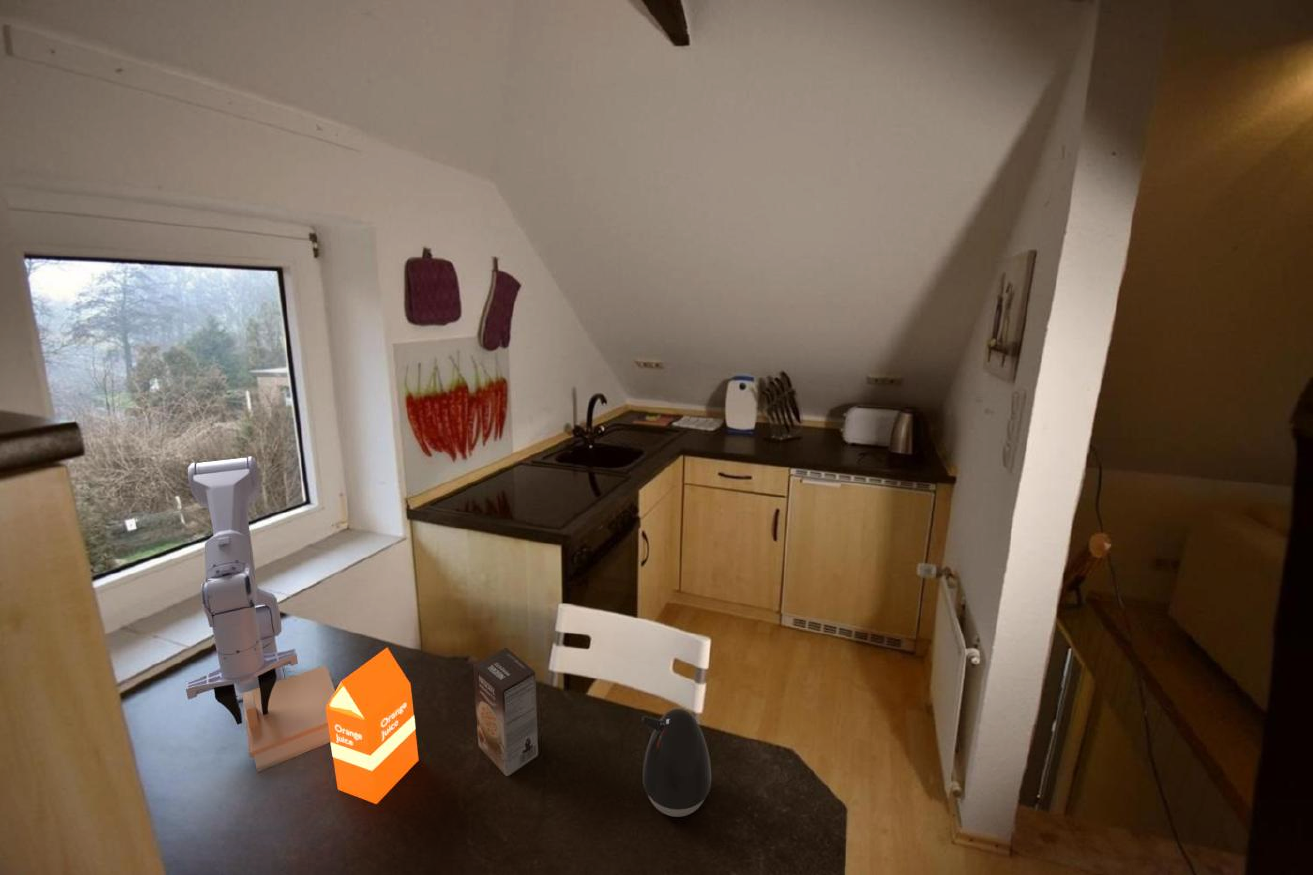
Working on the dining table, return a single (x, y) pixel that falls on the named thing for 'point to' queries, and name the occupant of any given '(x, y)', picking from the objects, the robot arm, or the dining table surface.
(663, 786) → the pump dispenser
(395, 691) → the orange juice
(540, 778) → the dining table surface
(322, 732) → the parts tray
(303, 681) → the lid
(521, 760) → the coffee box
